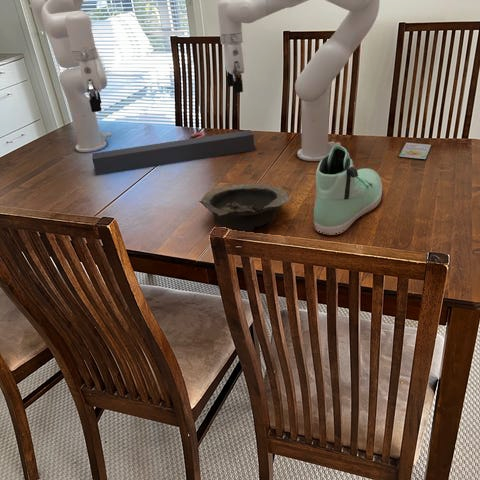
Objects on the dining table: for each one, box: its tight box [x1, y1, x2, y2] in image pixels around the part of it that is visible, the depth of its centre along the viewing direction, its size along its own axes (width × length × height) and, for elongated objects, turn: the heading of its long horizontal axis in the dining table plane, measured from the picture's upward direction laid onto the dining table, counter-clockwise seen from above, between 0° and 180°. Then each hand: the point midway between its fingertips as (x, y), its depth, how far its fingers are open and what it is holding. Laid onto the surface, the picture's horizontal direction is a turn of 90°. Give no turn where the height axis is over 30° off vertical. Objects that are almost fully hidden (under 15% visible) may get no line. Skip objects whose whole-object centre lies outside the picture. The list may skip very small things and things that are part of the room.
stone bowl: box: [198, 183, 290, 233], centre depth 135 cm, size 25×25×9 cm
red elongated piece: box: [190, 132, 206, 139], centre depth 197 cm, size 6×15×2 cm, turn 145°
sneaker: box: [313, 145, 383, 236], centre depth 133 cm, size 14×35×20 cm, turn 152°
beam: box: [91, 129, 255, 176], centre depth 180 cm, size 60×6×6 cm, turn 104°
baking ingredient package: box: [398, 142, 432, 160], centre depth 172 cm, size 9×1×15 cm
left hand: (96, 107), depth 165 cm, fingers open, 9 cm apart
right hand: (235, 89), depth 173 cm, fingers open, 9 cm apart
